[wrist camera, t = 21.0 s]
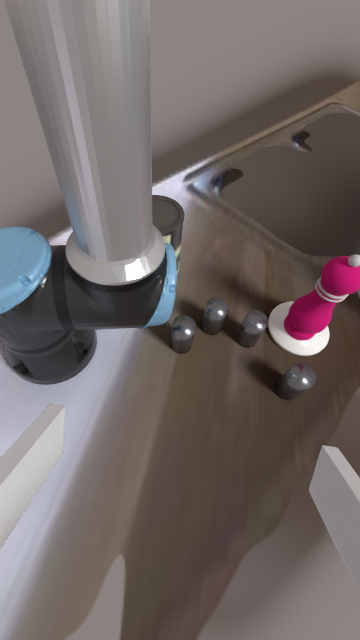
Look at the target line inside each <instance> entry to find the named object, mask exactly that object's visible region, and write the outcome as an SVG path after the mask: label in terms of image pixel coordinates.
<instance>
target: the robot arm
mask: <svg viewBox="0 0 360 640" xmlns="http://www.w3.org/2000/svg"><path fill="white" fill-rule="evenodd" d="M4 3H5V6H6V9H7V13H8V16H9V19H10V22H11V26H12V29H13V33H14V36H15V39H16V43H17V46H18V49H19V53H20V56H21V59H22V63H23V66H24V69H25V73H26V76H27V79H28V83H29V86H30V89H31V93H32V96H33V99H34V103H35V106H36V109H37V113H38V116H39V119H40V123H41V126H42V129H43V133H44V136H45V139H46V143H47V146H48V149H49V152H50V156H51V159H52V163H53V166H54V169H55V173H56V176H57V179H58V183H59V186H60V189H61V193H62V196H63V199H64V202H65V206H66V209H67V212H68V216H69V219H70V222H71V226H72V229H73V232H72V234H71V235H70V237H69V238H68V241H67V244H66V245H57V246H50V244H49V242H48V241H47V239H45V238H44V237H43V236H42V235H41V234H40V233H36V232H35V230H33V229H30V228H26V227H6V228H1V229H0V340H1V341H2V342H3V346H4V351H5V356H6V359H7V361H8V363H9V365H10V367H11V368H12V369H13V370H14V371H15V372H16V373H17V374H18V375H19V376H21V377H22V378H23V379H25V380H27V381H29V382H32V383H36V384H44V385H47V384H56V383H60V382H63V381H66V380H68V379H70V378H72V377H74V376H75V375H77V374H78V373H79V372H81V371H82V370H83V369H84V368H85V367H86V366H87V365H88V363H89V362H90V360H91V359H92V357H93V355H94V352H95V349H96V345H97V336H96V332H95V330H98V329H117V328H146V327H147V326H156V325H162V324H164V323H165V322H166V321H167V320H168V319H169V318H170V316H171V313H172V310H173V306H174V302H175V294H176V292H175V286H176V281H177V266H176V257H175V252H174V249H173V247H172V245H170V244H169V243H165V241H164V239H163V236H162V234H161V232H160V231H159V230H158V229H157V228H156V227H155V226H154V225H153V224H152V151H151V73H150V72H151V69H150V0H4ZM64 421H65V406H63V405H56V404H50V405H49V406H48V407H47V408H46V409H45V410H44V411H43V412H42V413H41V414H40V415H39V417H38V418H37V419H36V420H35V421H34V422H33V423H32V424H31V425H30V426H29V427H28V428H27V430H26V431H25V432H24V433H23V434H22V435H21V436H20V437H19V438H18V439H17V440H16V442H15V443H14V444H13V445H12V446H11V447H10V448H9V449H8V450H7V451H6V452H5V453H4V455H3V456H2V457H1V458H0V549H1V548H2V546H3V545H4V543H5V542H6V540H7V539H8V537H9V535H10V534H11V532H12V531H13V529H14V528H15V526H16V524H17V523H18V521H19V520H20V518H21V517H22V515H23V514H24V512H25V510H26V509H27V507H28V506H29V504H30V503H31V501H32V499H33V498H34V496H35V495H36V493H37V492H38V490H39V489H40V487H41V485H42V484H43V482H44V481H45V479H46V478H47V476H48V475H49V473H50V471H51V470H52V468H53V467H54V465H55V464H56V462H57V460H58V459H59V457H60V456H61V454H62V453H63V439H64ZM309 492H310V494H311V496H312V498H313V500H314V502H315V505H316V507H317V508H318V511H319V513H320V515H321V517H322V519H323V521H324V523H325V525H326V527H327V529H328V532H329V534H330V536H331V538H332V540H333V542H334V544H335V546H336V548H337V550H338V552H339V554H340V556H341V558H342V561H343V563H344V565H345V567H346V569H347V571H348V573H349V575H350V577H351V579H352V581H353V583H354V586H355V588H356V590H357V592H358V594H359V596H360V478H359V477H358V475H357V474H356V473H355V471H354V470H353V469H352V467H351V466H350V464H349V463H348V462H347V460H346V459H345V458H344V456H343V455H342V453H341V452H340V451H339V449H338V448H336V447H329V446H323V445H322V448H321V451H320V455H319V458H318V461H317V465H316V468H315V471H314V475H313V478H312V481H311V485H310V488H309Z"/></svg>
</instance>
